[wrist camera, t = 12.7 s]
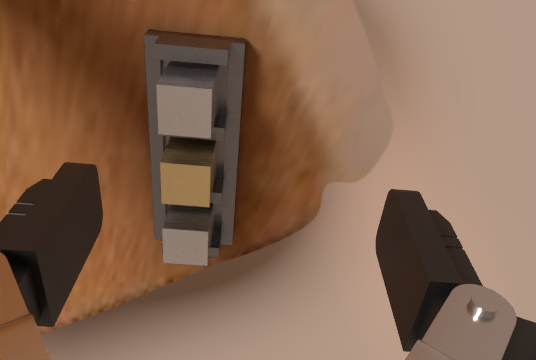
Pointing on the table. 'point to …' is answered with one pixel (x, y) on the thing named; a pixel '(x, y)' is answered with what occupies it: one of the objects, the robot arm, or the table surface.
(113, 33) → the table surface
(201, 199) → the tan rectangular block
